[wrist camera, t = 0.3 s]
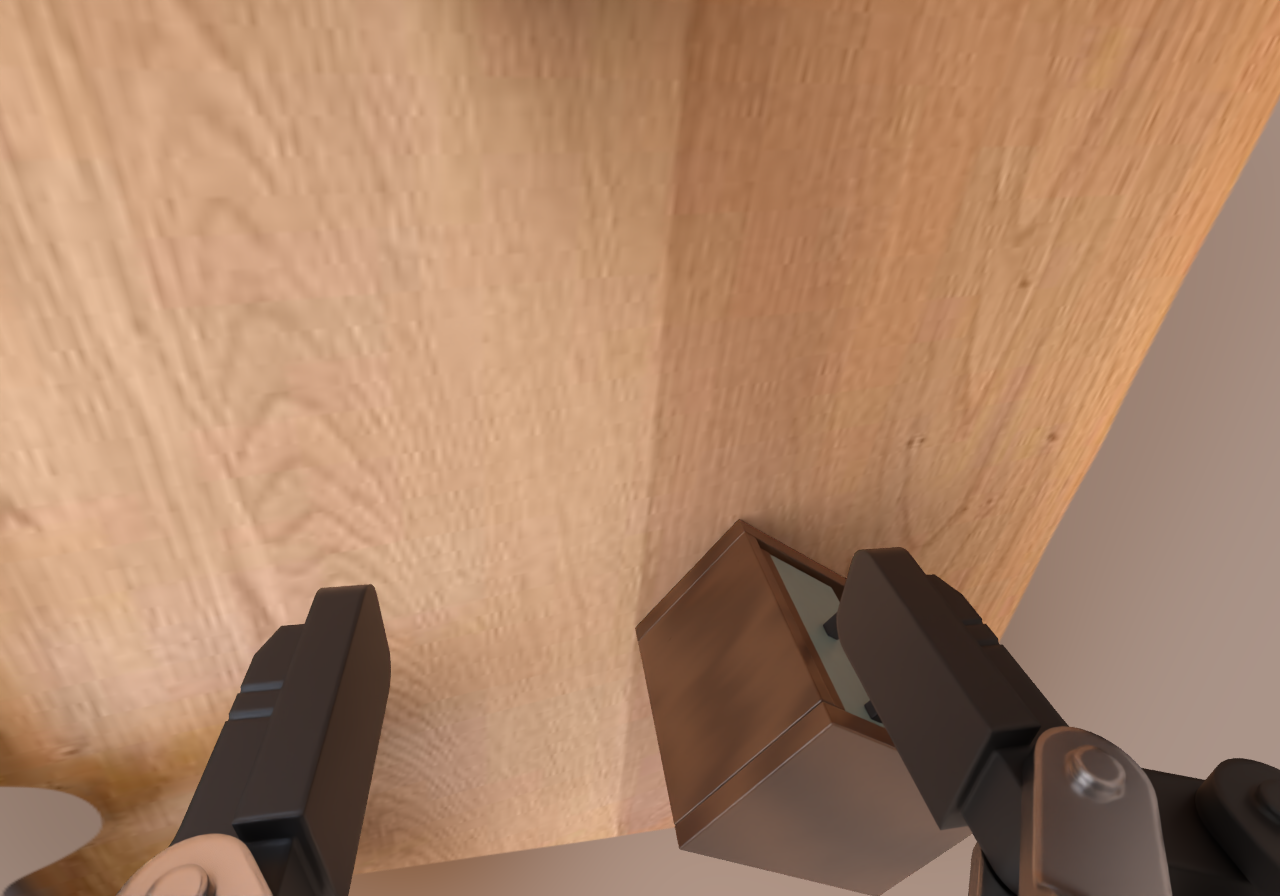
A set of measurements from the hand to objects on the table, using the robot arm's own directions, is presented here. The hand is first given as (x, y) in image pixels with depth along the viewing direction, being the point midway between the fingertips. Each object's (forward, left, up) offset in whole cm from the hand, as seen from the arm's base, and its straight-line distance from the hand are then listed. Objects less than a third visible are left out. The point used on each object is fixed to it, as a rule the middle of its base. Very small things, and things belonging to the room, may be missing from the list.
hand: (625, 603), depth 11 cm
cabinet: (+20, +12, -18) cm, 29 cm away
